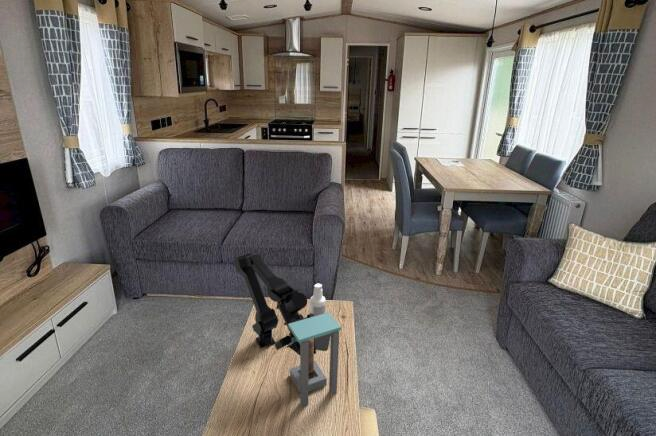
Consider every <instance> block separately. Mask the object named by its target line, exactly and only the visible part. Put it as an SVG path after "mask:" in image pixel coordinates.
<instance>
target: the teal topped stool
mask: <svg viewBox="0 0 656 436" xmlns="http://www.w3.org/2000/svg"><path fill="white" fill-rule="evenodd" d="M288 327H289V329H290V330H291V332H292V333H293V335H294V336H295V338H296V339H297V341H298V342H299V343H300V355H299V358H300V362H299V366H300V392H299V394H300V398H299V399H300V400H299V401H300V404H301V406H302V407H305V406H308V405H309V392H308V380H309V373H308V360H309V341H308V340H311V339H314V338H317V337H320V336H324V335H327V334H330V333H331V337H330V345H329V346H330V351H329V356H330V357H329V380H328V381H329V384H328V387H329V388H328V392H329V394H330V395H332V396H333V395H335V394H337V393H338V392H337V391H338V371H339V370H338V369H339V345H340V331H342V326H341V324H340V323H339V322H337V320H336V319H335V318H334V317H333V316H332V314H331V313H330V312H325V314H321V315H318V316H314V317H311V318H307V319H304V320H300V321H296V322H293V323H289V324H288ZM288 327H287V328H288ZM289 329H288V330H289Z"/></svg>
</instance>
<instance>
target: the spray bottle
mask: <svg viewBox="0 0 656 436" xmlns="http://www.w3.org/2000/svg"><path fill="white" fill-rule="evenodd" d="M312 294H313V295H312V296H310V299H309V314H310V313H313V314H314V316H318V315H321V314H325V313H326V301H327V300H326V297H325V296H323V295H324V294H323V284H321V283H319V282H318V283H316V284H314V285H313V293H312Z"/></svg>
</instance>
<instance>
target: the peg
mask: <svg viewBox="0 0 656 436" xmlns="http://www.w3.org/2000/svg"><path fill="white" fill-rule="evenodd" d="M308 341H309V360H308V374H312V372H313V370H314V360H315V359H314V357H315V356H314V355H315V354H314V339H311V340H308Z"/></svg>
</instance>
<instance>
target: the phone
mask: <svg viewBox="0 0 656 436" xmlns="http://www.w3.org/2000/svg"><path fill="white" fill-rule="evenodd" d="M330 342H331V333H330V334H327V335H324V336H320V337H317V338H315V347H316V351H328V350H329V346H330Z"/></svg>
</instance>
